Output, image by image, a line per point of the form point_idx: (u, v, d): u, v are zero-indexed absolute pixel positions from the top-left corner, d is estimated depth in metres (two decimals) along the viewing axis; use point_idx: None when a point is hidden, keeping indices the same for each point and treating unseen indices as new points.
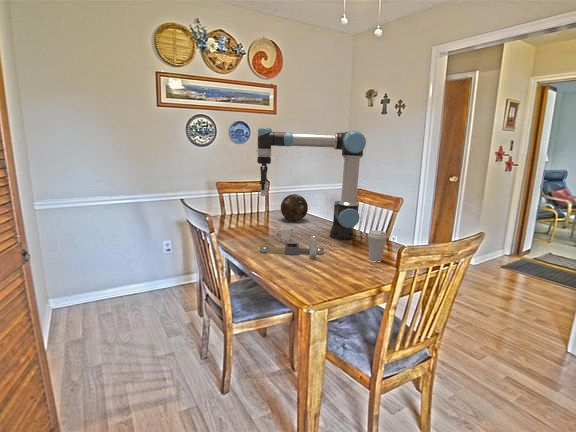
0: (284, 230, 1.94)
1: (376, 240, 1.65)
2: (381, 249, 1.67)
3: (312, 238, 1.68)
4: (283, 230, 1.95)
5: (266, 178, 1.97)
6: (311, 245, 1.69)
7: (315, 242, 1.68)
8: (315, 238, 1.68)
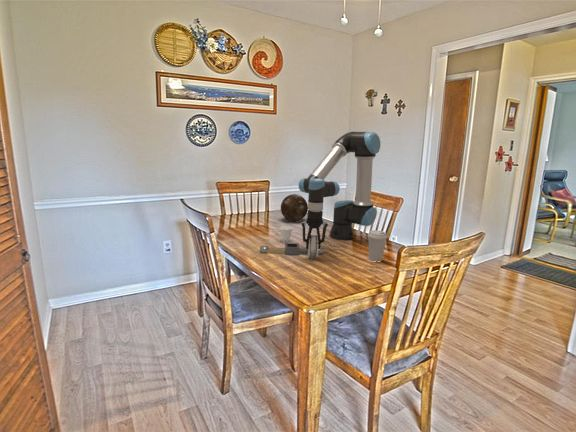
0: (284, 230, 1.94)
1: (376, 240, 1.65)
2: (381, 249, 1.67)
3: (312, 238, 1.68)
4: (283, 230, 1.95)
5: (319, 240, 1.69)
6: (310, 245, 1.69)
7: (315, 242, 1.68)
8: (315, 238, 1.68)
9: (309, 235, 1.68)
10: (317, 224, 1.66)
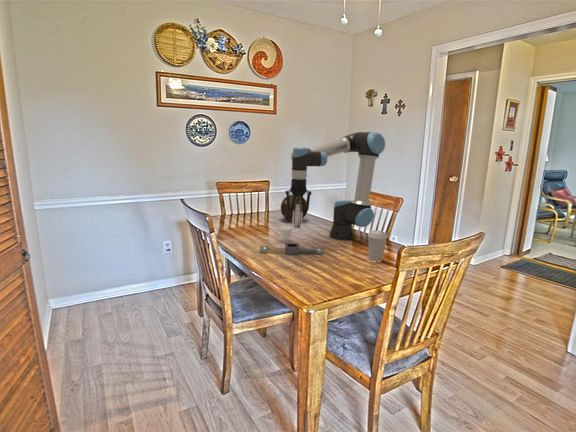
0: (284, 230, 1.94)
1: (376, 240, 1.65)
2: (381, 249, 1.67)
3: (296, 207, 1.70)
4: (283, 230, 1.95)
5: (303, 208, 1.71)
6: (295, 214, 1.72)
7: (299, 211, 1.71)
8: (299, 207, 1.71)
9: (293, 203, 1.70)
10: (301, 192, 1.69)
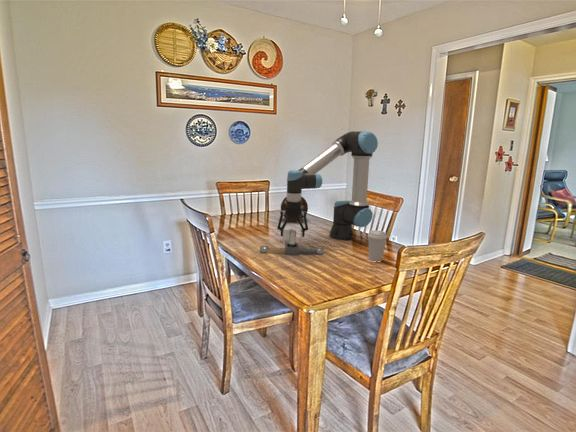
0: (284, 230, 1.94)
1: (376, 240, 1.65)
2: (381, 249, 1.67)
3: (291, 233, 1.75)
4: None
5: (303, 228, 1.75)
6: (290, 240, 1.76)
7: (294, 237, 1.76)
8: (294, 233, 1.75)
9: (285, 224, 1.75)
10: (296, 214, 1.73)
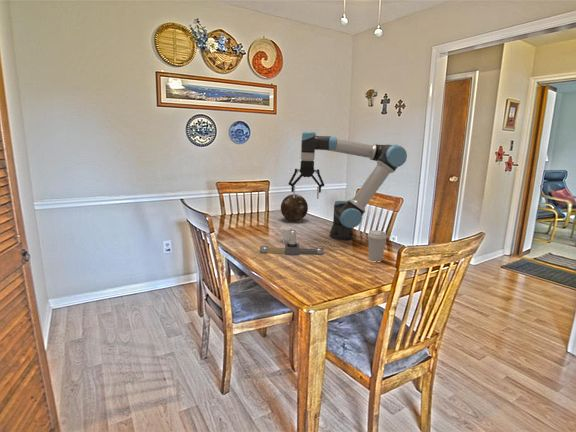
0: (284, 230, 1.94)
1: (376, 240, 1.65)
2: (381, 249, 1.67)
3: (291, 233, 1.75)
4: (283, 230, 1.95)
5: (319, 184, 1.88)
6: (290, 240, 1.76)
7: (294, 237, 1.76)
8: (294, 233, 1.75)
9: (297, 180, 1.88)
10: (309, 172, 1.86)
